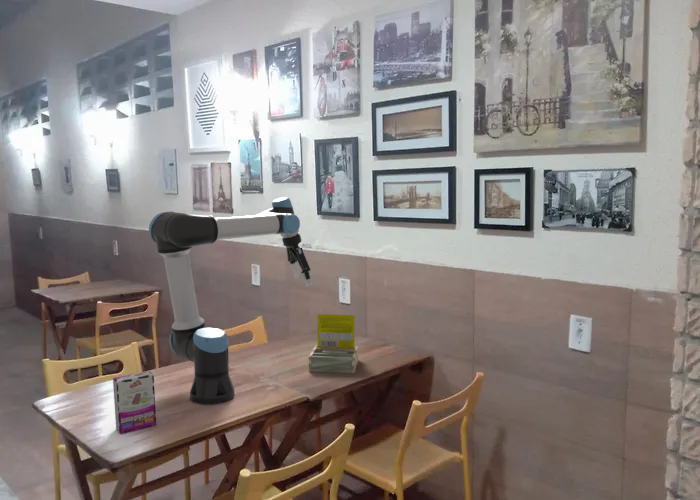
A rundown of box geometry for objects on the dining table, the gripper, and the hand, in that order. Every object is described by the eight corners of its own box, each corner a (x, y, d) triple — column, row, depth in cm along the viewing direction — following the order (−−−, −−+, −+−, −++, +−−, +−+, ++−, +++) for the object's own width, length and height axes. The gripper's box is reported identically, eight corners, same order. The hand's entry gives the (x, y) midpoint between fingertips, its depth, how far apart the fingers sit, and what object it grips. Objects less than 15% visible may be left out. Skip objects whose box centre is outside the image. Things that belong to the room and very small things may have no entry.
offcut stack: (348, 368, 237) (348, 353, 236) (318, 366, 238) (318, 352, 238) (349, 364, 242) (349, 349, 241) (320, 363, 243) (320, 348, 242)
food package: (354, 361, 245) (354, 314, 243) (354, 362, 244) (354, 315, 242) (317, 360, 247) (317, 313, 244) (317, 361, 246) (317, 314, 243)
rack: (354, 373, 231) (354, 358, 230) (308, 371, 233) (308, 356, 232) (358, 360, 247) (358, 346, 246) (315, 358, 249) (315, 345, 248)
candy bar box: (151, 420, 186) (149, 370, 184) (156, 425, 182) (154, 374, 180) (114, 428, 180) (112, 377, 178) (119, 434, 176) (116, 381, 173)
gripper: (309, 237, 230) (322, 286, 237) (288, 226, 252) (301, 270, 259) (292, 244, 228) (306, 292, 235) (272, 231, 250) (285, 276, 257)
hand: (303, 281), depth 247 cm, fingers open, 13 cm apart
